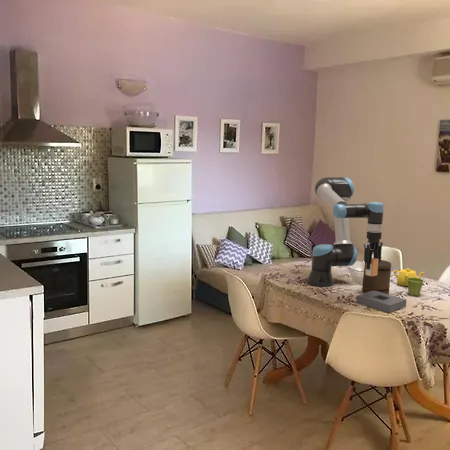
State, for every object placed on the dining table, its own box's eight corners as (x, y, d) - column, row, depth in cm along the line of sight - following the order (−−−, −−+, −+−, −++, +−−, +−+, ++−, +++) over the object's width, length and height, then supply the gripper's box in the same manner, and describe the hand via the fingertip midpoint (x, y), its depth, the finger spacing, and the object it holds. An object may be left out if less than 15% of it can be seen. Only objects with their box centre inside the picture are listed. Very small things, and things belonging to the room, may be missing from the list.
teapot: (410, 281, 322) (411, 265, 320) (423, 287, 310) (425, 270, 308) (391, 282, 318) (392, 266, 316) (404, 288, 306) (405, 272, 304)
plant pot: (424, 293, 297) (425, 279, 296) (421, 298, 289) (422, 283, 288) (407, 290, 302) (408, 276, 300) (403, 295, 294) (405, 280, 292)
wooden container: (391, 292, 299) (395, 255, 295) (384, 298, 286) (388, 260, 283) (366, 287, 307) (369, 251, 303) (358, 293, 294) (361, 256, 290)
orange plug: (365, 274, 277) (366, 258, 275) (370, 273, 280) (371, 257, 278) (372, 276, 273) (373, 259, 272) (377, 275, 276) (378, 258, 275)
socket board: (356, 302, 278) (356, 295, 277) (373, 297, 288) (373, 290, 288) (389, 312, 263) (389, 305, 262) (405, 306, 273) (406, 299, 273)
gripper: (370, 234, 265) (367, 278, 268) (390, 231, 275) (387, 273, 279) (358, 231, 270) (355, 275, 274) (378, 229, 281) (375, 270, 285)
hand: (371, 274), depth 276 cm, fingers closed on orange plug, 4 cm apart
